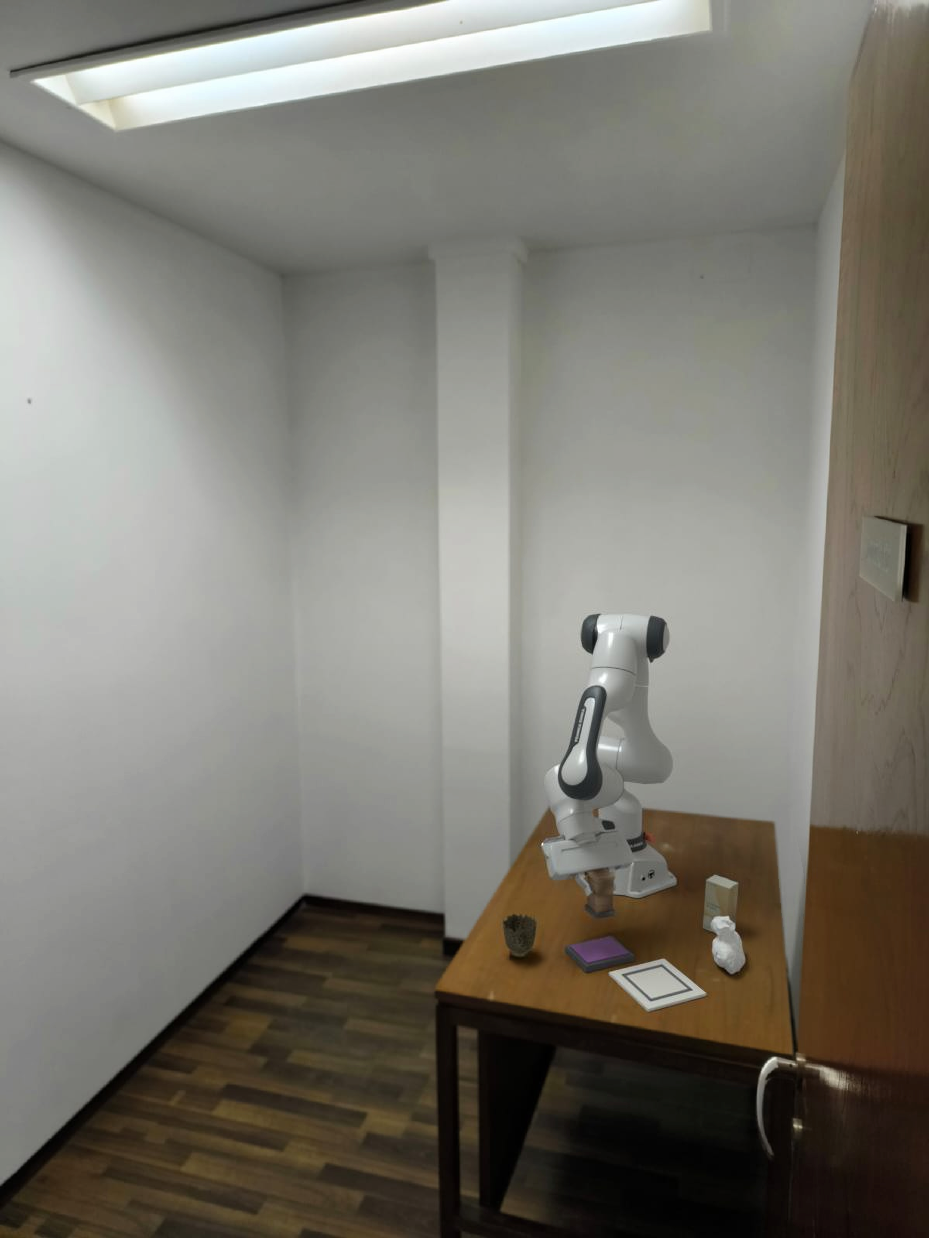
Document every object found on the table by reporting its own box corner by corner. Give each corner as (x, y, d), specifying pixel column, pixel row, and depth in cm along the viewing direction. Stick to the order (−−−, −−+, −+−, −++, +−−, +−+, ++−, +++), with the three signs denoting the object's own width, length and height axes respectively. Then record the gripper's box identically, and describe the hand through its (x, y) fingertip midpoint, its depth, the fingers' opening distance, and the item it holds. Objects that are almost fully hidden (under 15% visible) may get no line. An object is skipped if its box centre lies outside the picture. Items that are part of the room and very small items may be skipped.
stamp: (603, 905, 180) (604, 866, 178) (615, 915, 175) (616, 875, 174) (584, 909, 178) (585, 870, 177) (596, 919, 173) (597, 879, 172)
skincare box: (702, 928, 190) (704, 879, 188) (711, 922, 193) (713, 873, 191) (727, 938, 185) (729, 888, 184) (736, 932, 188) (739, 882, 187)
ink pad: (611, 941, 184) (611, 934, 184) (633, 960, 176) (634, 953, 176) (564, 951, 180) (565, 944, 179) (586, 972, 171) (586, 965, 171)
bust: (731, 959, 181) (701, 914, 183) (760, 946, 177) (729, 901, 179) (720, 987, 170) (689, 939, 172) (751, 973, 167) (719, 925, 169)
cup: (515, 943, 183) (516, 909, 182) (542, 954, 179) (543, 919, 178) (495, 956, 178) (496, 922, 177) (523, 968, 173) (523, 933, 172)
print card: (663, 960, 176) (664, 957, 176) (706, 995, 163) (706, 992, 163) (608, 974, 171) (608, 971, 171) (648, 1011, 158) (648, 1008, 158)
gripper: (543, 833, 177) (565, 894, 169) (623, 820, 185) (647, 879, 177) (534, 845, 181) (554, 906, 174) (611, 832, 189) (634, 890, 181)
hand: (602, 892), depth 175 cm, fingers closed on stamp, 4 cm apart
